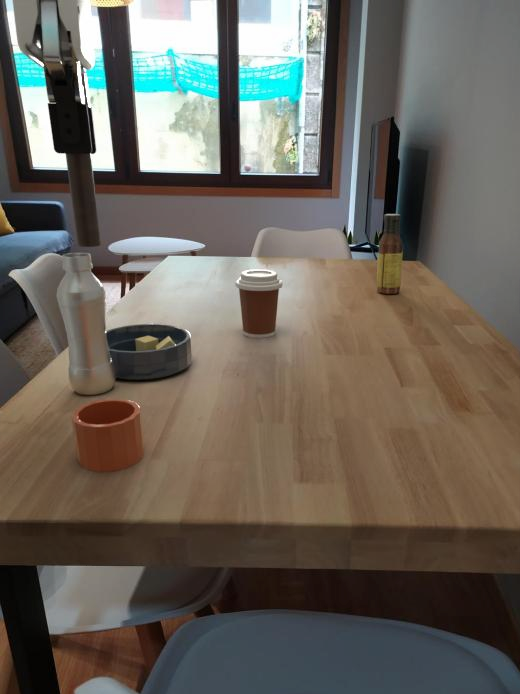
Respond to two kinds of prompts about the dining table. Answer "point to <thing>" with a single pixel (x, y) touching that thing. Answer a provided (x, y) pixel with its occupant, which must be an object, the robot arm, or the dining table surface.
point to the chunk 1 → (146, 343)
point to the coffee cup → (259, 302)
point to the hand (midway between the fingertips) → (76, 151)
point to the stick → (83, 198)
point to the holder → (108, 435)
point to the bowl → (148, 362)
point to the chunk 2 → (165, 343)
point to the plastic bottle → (85, 326)
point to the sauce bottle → (390, 257)
